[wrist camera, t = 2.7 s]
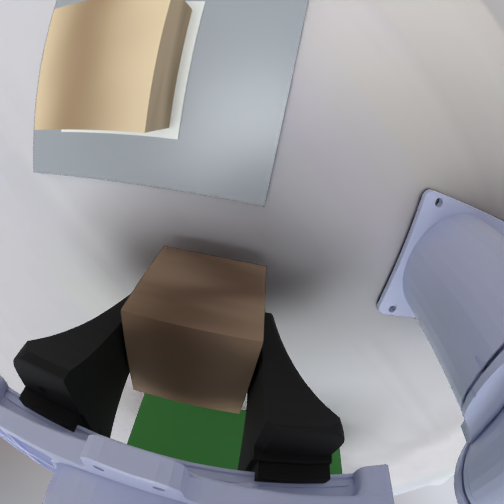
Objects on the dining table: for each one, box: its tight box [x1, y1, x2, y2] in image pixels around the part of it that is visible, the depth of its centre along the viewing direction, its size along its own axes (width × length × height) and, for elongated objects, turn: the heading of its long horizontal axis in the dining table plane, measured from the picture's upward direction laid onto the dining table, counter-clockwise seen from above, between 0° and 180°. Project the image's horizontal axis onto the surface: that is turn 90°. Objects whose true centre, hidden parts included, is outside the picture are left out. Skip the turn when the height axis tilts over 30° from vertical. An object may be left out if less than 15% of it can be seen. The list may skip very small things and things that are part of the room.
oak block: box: [34, 0, 192, 133], centre depth 9 cm, size 6×6×3 cm
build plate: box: [33, 0, 308, 206], centre depth 11 cm, size 14×12×1 cm
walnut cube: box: [121, 246, 266, 414], centre depth 13 cm, size 5×5×5 cm
